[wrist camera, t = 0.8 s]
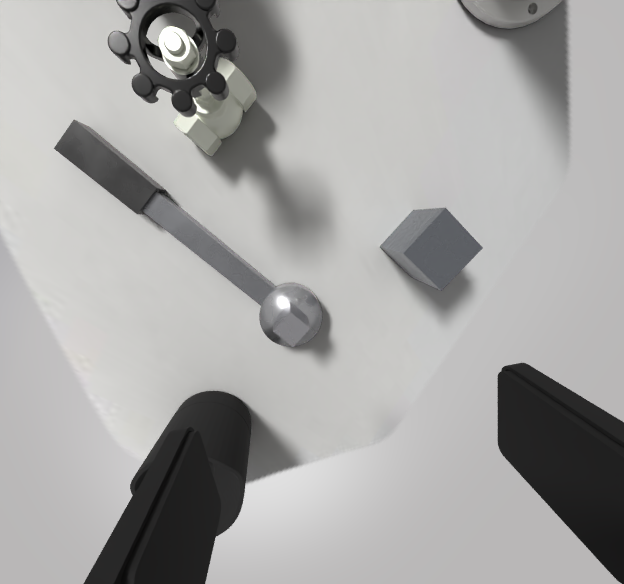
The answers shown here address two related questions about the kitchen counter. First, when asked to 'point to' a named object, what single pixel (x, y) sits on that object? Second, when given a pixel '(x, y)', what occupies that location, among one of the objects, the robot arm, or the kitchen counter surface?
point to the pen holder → (214, 446)
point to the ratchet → (193, 236)
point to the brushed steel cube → (431, 246)
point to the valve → (188, 68)
